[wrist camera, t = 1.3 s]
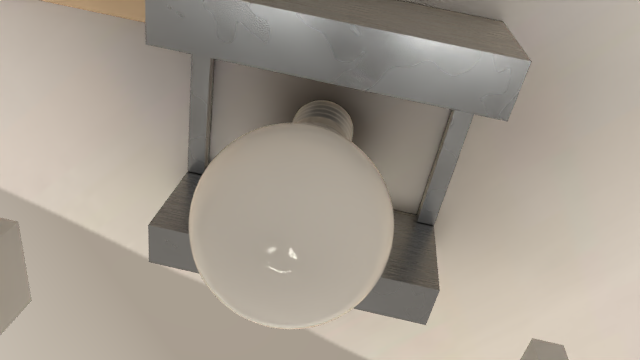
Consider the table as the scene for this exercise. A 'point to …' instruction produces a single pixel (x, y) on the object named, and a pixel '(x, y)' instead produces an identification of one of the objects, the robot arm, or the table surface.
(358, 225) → the lightbulb
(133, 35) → the table surface
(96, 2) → the cork pad
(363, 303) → the housing
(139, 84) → the table surface
